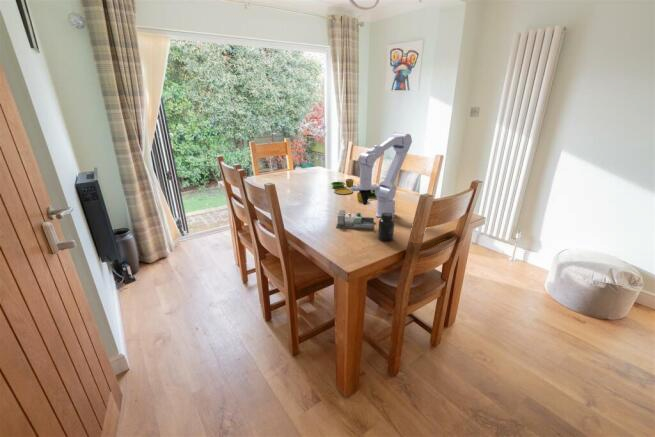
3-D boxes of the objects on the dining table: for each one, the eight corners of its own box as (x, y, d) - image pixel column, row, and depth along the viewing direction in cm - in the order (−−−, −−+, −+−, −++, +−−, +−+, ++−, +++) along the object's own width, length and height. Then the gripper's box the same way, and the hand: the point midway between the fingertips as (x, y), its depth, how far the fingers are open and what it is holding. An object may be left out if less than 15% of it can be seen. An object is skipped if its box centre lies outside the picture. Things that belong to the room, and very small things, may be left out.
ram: (361, 220, 152) (362, 211, 150) (360, 225, 145) (361, 216, 143) (355, 220, 152) (356, 210, 150) (354, 225, 146) (355, 215, 144)
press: (373, 221, 153) (374, 211, 151) (372, 230, 143) (373, 219, 141) (339, 219, 156) (339, 209, 154) (336, 227, 146) (336, 216, 144)
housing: (354, 221, 151) (354, 212, 149) (353, 224, 147) (353, 215, 145) (345, 220, 152) (345, 211, 150) (344, 224, 148) (344, 214, 146)
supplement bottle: (391, 235, 137) (393, 211, 133) (394, 241, 131) (397, 216, 126) (376, 235, 137) (378, 211, 133) (379, 242, 131) (381, 217, 126)
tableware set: (387, 200, 186) (387, 191, 183) (345, 204, 179) (345, 194, 177) (363, 183, 223) (363, 175, 220) (327, 186, 216) (327, 178, 214)
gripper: (377, 175, 149) (376, 201, 154) (349, 176, 147) (349, 202, 152) (381, 179, 143) (380, 205, 148) (352, 180, 141) (351, 207, 146)
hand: (364, 204), depth 150 cm, fingers closed
